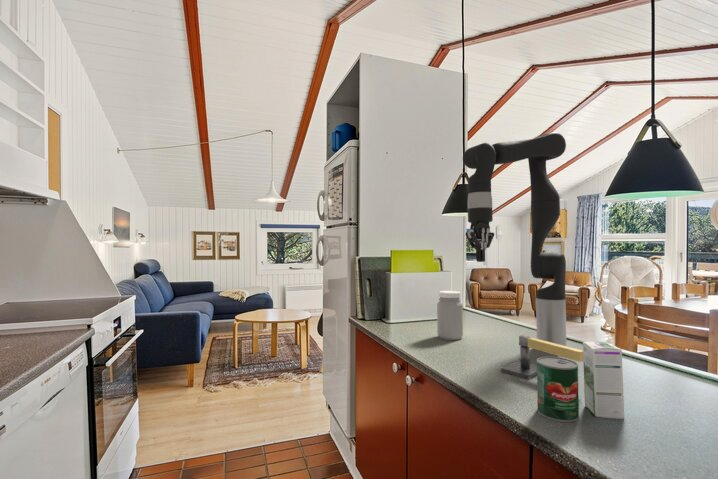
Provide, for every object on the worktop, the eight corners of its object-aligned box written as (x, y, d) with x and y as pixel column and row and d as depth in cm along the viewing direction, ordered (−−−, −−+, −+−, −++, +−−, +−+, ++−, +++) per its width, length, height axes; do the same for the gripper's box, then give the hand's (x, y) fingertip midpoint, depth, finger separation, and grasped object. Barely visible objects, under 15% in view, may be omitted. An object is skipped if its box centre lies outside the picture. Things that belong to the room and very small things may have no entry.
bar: (516, 344, 107) (516, 336, 107) (524, 343, 108) (523, 335, 109) (578, 362, 91) (578, 352, 91) (586, 360, 92) (586, 350, 92)
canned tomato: (561, 425, 74) (560, 370, 74) (529, 409, 81) (528, 359, 81) (587, 417, 77) (586, 364, 77) (554, 403, 84) (553, 354, 85)
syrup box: (625, 419, 76) (624, 348, 76) (593, 417, 77) (592, 347, 78) (612, 407, 82) (611, 341, 82) (583, 405, 83) (581, 340, 83)
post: (518, 364, 112) (518, 341, 112) (545, 371, 106) (545, 346, 106) (501, 371, 106) (500, 346, 106) (528, 379, 99) (528, 353, 100)
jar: (436, 334, 151) (436, 290, 151) (461, 334, 150) (460, 290, 150) (438, 340, 141) (437, 293, 142) (464, 341, 140) (464, 293, 140)
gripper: (478, 205, 111) (479, 262, 111) (501, 207, 119) (502, 261, 119) (457, 207, 117) (458, 262, 117) (481, 209, 125) (482, 260, 125)
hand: (480, 261), depth 118 cm, fingers closed
